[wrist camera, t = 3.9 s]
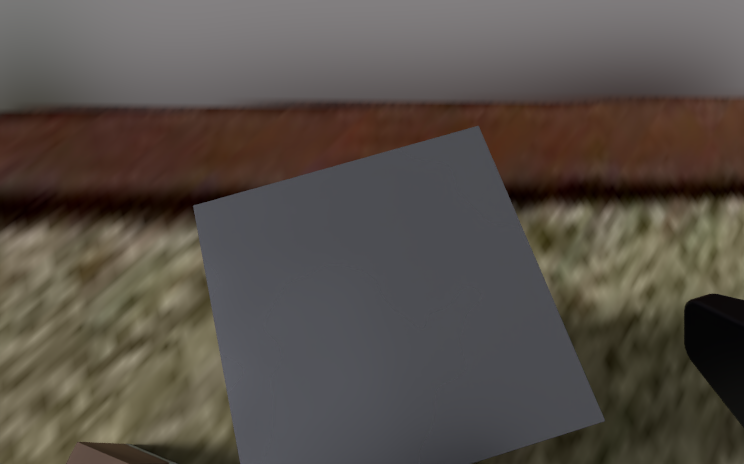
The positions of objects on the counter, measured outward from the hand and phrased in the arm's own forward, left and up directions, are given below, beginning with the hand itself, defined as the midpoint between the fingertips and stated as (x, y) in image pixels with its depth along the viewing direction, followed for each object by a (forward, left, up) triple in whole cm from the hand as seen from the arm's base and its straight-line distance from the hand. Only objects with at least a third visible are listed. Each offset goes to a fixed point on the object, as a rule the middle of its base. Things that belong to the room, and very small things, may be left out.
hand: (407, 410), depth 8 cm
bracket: (+2, -3, -9) cm, 10 cm away
